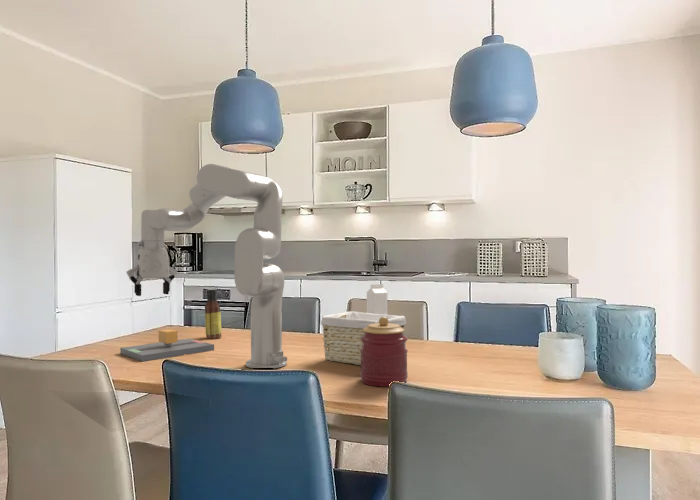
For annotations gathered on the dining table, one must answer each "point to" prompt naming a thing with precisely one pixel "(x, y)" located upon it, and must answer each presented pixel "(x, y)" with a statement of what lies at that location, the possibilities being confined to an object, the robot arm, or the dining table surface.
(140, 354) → the switch board
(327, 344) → the storage basket
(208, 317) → the sauce bottle
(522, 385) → the dining table surface
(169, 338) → the switch knob
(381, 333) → the canister
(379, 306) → the milk
